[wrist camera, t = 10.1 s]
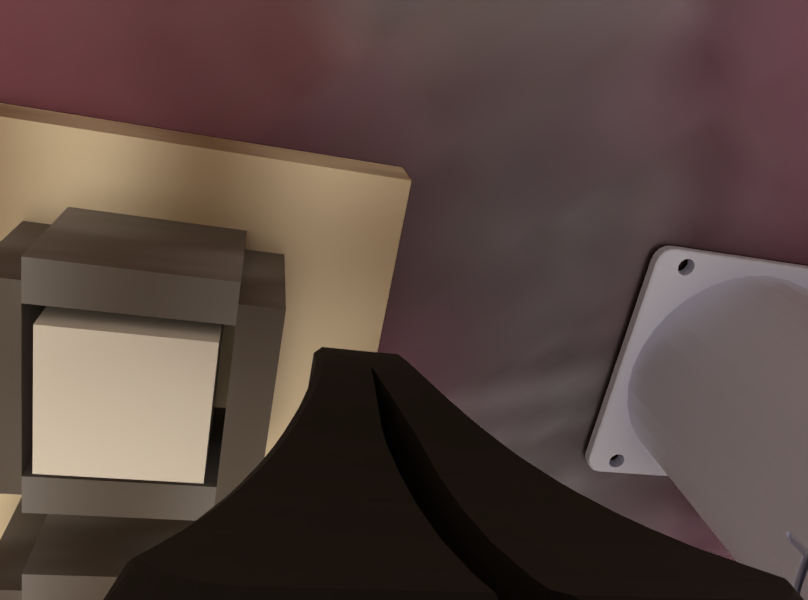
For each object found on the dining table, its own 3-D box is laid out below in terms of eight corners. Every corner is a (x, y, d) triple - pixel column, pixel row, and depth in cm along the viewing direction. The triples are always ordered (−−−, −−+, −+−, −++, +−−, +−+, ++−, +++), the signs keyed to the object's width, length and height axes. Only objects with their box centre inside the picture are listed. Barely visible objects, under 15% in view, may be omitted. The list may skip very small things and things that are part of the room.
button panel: (402, 167, 20) (439, 221, 15) (279, 797, 29) (280, 946, 25) (-91, 88, 17) (-224, 125, 13) (-50, 810, 26) (-117, 980, 22)
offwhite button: (227, 288, 18) (219, 342, 15) (213, 413, 19) (203, 483, 16) (71, 270, 17) (33, 324, 14) (68, 401, 18) (32, 473, 16)
